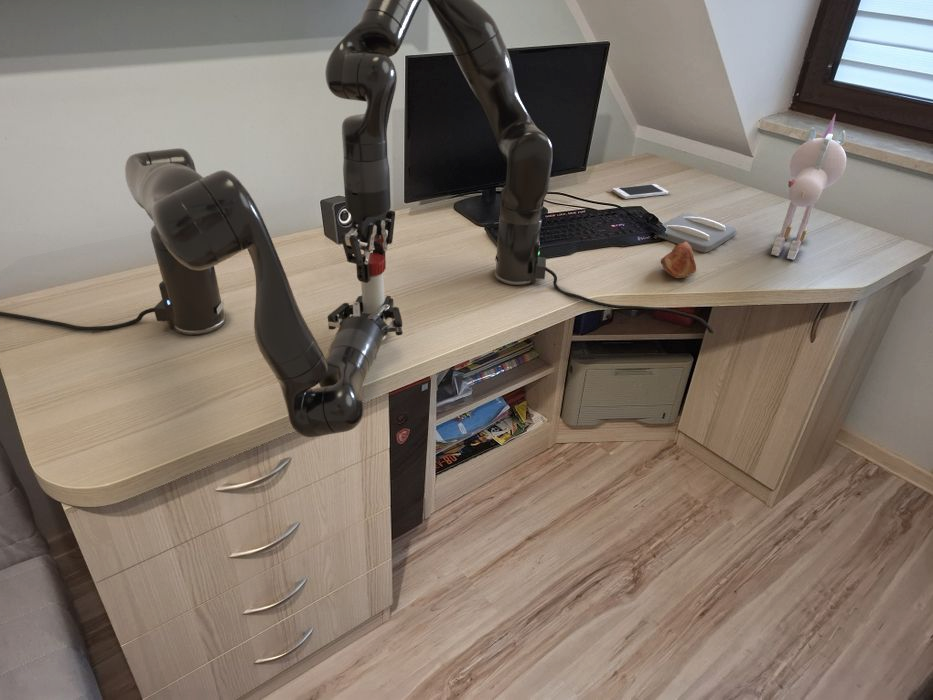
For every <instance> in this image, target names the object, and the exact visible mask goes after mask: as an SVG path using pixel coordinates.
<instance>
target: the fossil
mask: <svg viewBox="0 0 933 700" xmlns="http://www.w3.org/2000/svg"><path fill="white" fill-rule="evenodd" d="M660 264H661V265H662V267H663V269H664V270H665V272H667V274H669V275H671V277H673V278H675V279H684V278H687V277H689V276H690V275H693V274H695V272H697V264H696V260H695V257H694V252H693V249H692V248H691V246H690V245H689V243H688V242H687V241H685V242H684V243H681V244H676V245H675V246H674V247H673V248H672V250H671V251H670V252H668V253H667V254H666V255H664V256H663V257H662V258H661V259H660Z"/></svg>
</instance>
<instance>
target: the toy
mask: <svg viewBox="0 0 933 700" xmlns="http://www.w3.org/2000/svg"><path fill="white" fill-rule="evenodd" d="M836 116H837V115H836V112H835V113H834V115H833V116H832V119H831V120H830V122H829V124H828V126H827V128H826V130H825V131H824V133H823V134H822V136H821V137H817V138H816V136H817V128H815V127H810V129H809V130H808V133H807V135H806V136H805V142H804V143H802V144H801V145H800V146H798V148H797V149H796V150H795V151H794V152H793V154H792V156H791V159H790V162H789V173H790V175H791V178H792V180H789V181H788V188H789V189H788V198H789V201H790V202H789V205H788V209H787V212H786V215H785V218H784V221H783V223H782V227H781V230H780V233H779V235H777V236H776V239H775V241H774V243H773V246H772V249H771V253H770V255H772V256H776V257H779V255H780V253H781V252H782V249H783V248H784V246H785V242H786V240H789V238H790V234H791V232H792V227H793V225H792V223H793V219H794V217H795V213H796V211H797V208H798V207H801V208H802V207H804V208H805V210H804V213H803V216H802V219H801V222H800V225H799V227H798V230H797V233H796V237H795V239H793V240H792V242H791V245H790V247H789V250H788V253H787V256H786V259H788V260H792V261H794V260H795V259H796V257H797V255H798V253H799V251H800V249H801V245H802V244H803V243H804V240H805V238H806V235H807V231H808V228H807V227H808V224H809V221H810V218H811V215H812V212H813V209H814V207H815V204H816V202H817V201H818V200H819V199H820V197H821V195H822V193H823V191H824V189H827V188H828V187H831V186H832V185H834V184H835V183H836V182H837V181H838V180H840V178H841V177H842V176H843V174H844V173H845V170H846V168H847V167H846V166H847V154H846V152H845V150H844V148H843V145H844V143H845V141H846V140H847V134H846V131H845V130H840V131H839V132H838V133H837V135H836V137H835V139H833V129H834V125H835V120H836ZM841 135H842V138H841V141H840V137H841Z"/></svg>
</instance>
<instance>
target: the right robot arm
mask: <svg viewBox="0 0 933 700" xmlns="http://www.w3.org/2000/svg"><path fill="white" fill-rule="evenodd" d="M422 1H423V0H368V1H367V4H366V7H365V9H364V11H363V13H362V15H361V17H360V19H359V22H358V23H357V24H355V25H354V26H353V27H352V28H351V29H350V30H349V31H348V33H347V34H346V35H345V36H344V37H343V38H342V39H341V40H340V41H339V42H338V43H337V45H336V46H335V47H334V48H333V50H332V51H331V53H330V54H329V57H328V59H327V62H326V66H325V83H326V85H327V88H328V89H329V91H330V92H331V94H332V95H334V96H335V97H337V98H340V99H343V100H350V101H358V102H366V108H365V112H364V113H359V114H353V115H349V116H347V117H346V118H344V119H343V121H342V124H341V138H342V154H343V162H342V163H343V164H342V165H343V166H342V174H343V176H342V177H343V189H344V200H345V201H344V203H345V210H346V212H347V213H348V214H349V215H350V216H351V224H350V230H349V231H348V232H347V233H346V232H342V233H341V235H340V240H341V243H342V247H343V251H344V254H345V257H346V261H347V263H350V264H354V265H355V266H356V278H357V280H358V281H359V282H360V283H361V282H365V283H368V282H369V281H370V264H369V257H370V253H371V252H372V253H379V254H381V255H383V256H384V260H385V270H386V269H387V267H386V265H387V261H386V259H387V258H386V252H387V250H388V245H392V244H393V240H394V239H393V238H394V230H395V221H396V211H395V210H391V208H392V207H391V206H392V203H391V174H390V173H391V172H390V165H389V157H388V135H387V132H388V131H387V130H388V124H389V120H390V119H389V118H390V113H391V108H392V103H393V100H394V96H395V93H396V89H397V81H398V80H397V79H398V75H397V70H396V67H395V65H394V62H393V60H392V59H391V57H393V56H395V55H396V54H397V53H398V52H399V50H400V49H401V46H402V44H403V42H404V40H405V37H406V35H407V32H408V30H409V28H410V26H411V24H412V21H413V18H414V16H415V15H416V12H417V10H418V8H419V6H420V4H421V2H422ZM426 1H427V3H428V5H429V7H430V9H431V11H432V13H433V15H434V17H435V19H436V21H437V22H438V24H439V27H440V28H441V31H442V32H443V34H444V37H445V38H446V41H447V43H448V45H449V47H450V49H451V52H452V54H453V56H454V59H455V61H456V62H457V64H458V66H459V69H460V71H461V72H462V74H463V76H464V78H465V80H466V82H467V83H468V85H469V87H470V89H471V90H472V92H473V94H474V95H475V97H476V100H478V102H479V103H480V105H481V106H482V108H483V110H484V112H485V115H486V116H487V118H488V120H489V123H490V126H491V129H492V131H493V134H494V138H495V140H496V143H497V147H498V148H499V152H500V155H501V156H502V158H503V160H504V162H506V164H507V165H506V174H505V175H506V176H505V177H506V178H505V184H504V185H505V186H504V187H503V188H501V191H500V198H499V211H498V228H497V244H496V255H495V258H494V262H495V270H494V277H495V278H496V280H498V281H499V282H502V283H503V284H508V285H510V286H525V285H530V284H537V280H545V279H546V278H545V277H546V272H547V273H549V275H551V276H552V277H553V282H552V284H553V287H554V288H555V290H556V291H557V292H559V293H560V294H563V295H565V296H567V297H570V298H574V299H575V298H576V299H578V300H581V301H584V302H587V303H590V304H593V305H596V306H600V307H604V308H611V309H618V310H641V311H651V312H662V313H670V314H673V315H678V316H681V317H685V318H689V319H692V320H694V321H697V322H699V323H700V324H702V326H703V327H705V328H706V330H707V331H708V332H709V333H710V334H714V331H713V329H712V327H711V325H709V323H707V322H706V321H705V319H703V318H702V317H699V316H696V315H694V314H691V313H686V312H682V311H680V310H675V309H671V308H665V307H656V306H655V307H654V306H643V305H624V304H623V305H621V304H611V303H606V302H601V301H598V300H594V299H591V298H587V297H585V296H582V295H580V294H576V293H571V292H568V291H565V290H563V289H561V288H560V287H559V285H558V284H557V283H558V276H557V274H556V273H555V271H553V270H551V269H550V268H548V267H547V257H544V256H540V246H541V244H540V243H541V231H542V222H543V221H542V220H543V213H544V212H543V211H544V201H545V198H546V197H547V194H548V192H549V188H550V187H549V186H550V180H551V172H552V165H553V155H554V153H553V144H552V142H551V139H550V138H549V137H548V136H547V135H546V134H545V133H544V132H543V131H542V130H541V129H540V128H539V127H537V125H536V124H535V122H534V121H533V120H532V117H531V116H530V114H529V113H528V111H527V109H526V107H525V105H524V103H523V101H522V99H521V97H520V94H519V92H518V88H517V84H516V79H515V73H514V69H513V64H512V61H511V60H512V59H511V57H510V53H509V51H508V49H507V46H506V44H505V41H504V39H503V36H502V34H501V32H500V30H499V27H498V25H497V23H496V21H495V19H494V18H493V17H492V15H491V14H489V12H488V11H487V10H485V8H484V7H482V6H481V5H480V4H479V3H478V2H476V1H475V0H426ZM363 243H365V244H363ZM362 251H363V253H362ZM362 254H364V256H362Z"/></svg>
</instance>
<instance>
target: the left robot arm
mask: <svg viewBox="0 0 933 700" xmlns="http://www.w3.org/2000/svg"><path fill="white" fill-rule="evenodd" d="M124 166H125V167H124V175H125V181H126V186H127V188H128V190H129V193H130V194H131V196H132V198H133V199H134V201H135V202H136V204H137V205H138V206H139V207H140V208H141V209H143V210H144V211H145V212H146V214H147V215H148V217H149V218H150V219H151V221H152V222H153V226H152V227H151V229H150V239H151V243H152V245H153V249H154V253H155V256H156V261H157V265H158V268H159V272H160V276H161V281H160V282H159V284H158V289H159V292H160V295H161V300H160V301H159V302H158V303H157V304H156V305H155V306H154V307H150V308H146V309H145V310H143V311H140V313H138V316H137V317H136V318H133V319H131V320H129V321H126V322H122V323H119V324H111V325H99V326H98V325H97V326H82V325H77V324H76V325H75V324H71V323H67V322H62V321H56V320H51V319H45V318H40V317H35V316H29V315H23V314H17V313H11V312H5V311H0V317H6V318H12V319H17V320H22V321H29V322H35V323H40V324H46V325H50V326H57V327H61V328H66V329H71V330H75V331H84V332H92V331H93V332H94V331H111V330H117V329H121V328H126V327H129V326H133V325H135V324H137V323H139V322H140V321H142V319H143V318H144V316H146V315H147V314H151V313H154V314H155V319H156V322H167V323H168V325H169V329H170V330H175V331H176V332H178V333H179V334H182V335H187V336H189V335H190V336H197V335H203V334H204V335H205V334H208V333H212V332H214V331H216V330H218V329H220V328H221V327H222V326H223V325H224V324H225V322H226V314H225V311H224V307H225V305H226V304H225V299H222V298H221V293H220V288H219V284H218V278H217V273H216V268H215V266H217V265H219V264H221V263H223V262H225V261H226V260H229V259H231V258H232V257H235V256H236V255H238V254H240V253H242V252H243V251H245V250H247V251H248V253H249V256H250V259H251V261H252V265H253V269H254V275H255V305H254V306H255V307H254V318H253V322H254V323H253V329H254V331H253V332H254V337H255V341H256V345H257V348H258V350H259V352H260V354H261V356H262V357H263V359H264V360H265V362H266V364H267V365H268V367H269V368H270V370H271V371H272V373H273V375H274V376H275V378H276V379H277V381H278V383H279V386H280V390H281V393H282V397H283V400H284V403H285V406H286V411H287V416H288V420H289V423H290V426H291V427H292V428H293V430H294V431H296V433H298V434H299V435H301V436H303V437H306V438H317V437H323V436H329V435H334V434H339V433H345V432H349V431H352V430H353V429H355V428H357V426H358V425H359V424H360V423H361V421H362V420H363V418H364V399H363V398H364V397H363V395H364V392H363V391H364V382H365V380H366V378H367V376H368V373H369V371H370V370H371V368H372V366H373V364H374V361H375V360H376V359H377V354H378V352H379V350H380V347H381V345H382V342H383V341H382V339H383V337H384V336H386V337H387V335H388V334H389V333H395V335H396V336H402V335H403V319H402V315H401V311H400V308H399V307H398V306H394V305H395V304H394V298H392V296H391V295H385V296H386V297H385V298H384V303H383V306H382V307H381V308H378V309H377V310H376V311H375V312H373V313H370V314H367V313H363V303H362V294H361V295H359V296H357V298H356V299H355V301H354V302H353V303H352V304H350V303H349V302H344V303H342V304H341V305H339V306H338V307H337V308H336V309H334V310H333V311H332V312H331V313H329V314H328V315H327V325H328V330H330V331H331V330H332V331H334V330H335V329H338V330H337V332H336V333H335V336H334V337H333V339H332V341H331V343H330V346H329V347H328V351H327V355H326V356H325V354H324V353H323V351H322V349H321V348H320V346H319V344H318V342H317V340H316V339H315V337H314V335H313V333H312V331H311V329H310V328H309V325H307V322H306V320H305V318H304V317H303V314H302V312H301V309H300V307H299V305H298V303H297V300H296V297H295V295H294V292H293V290H292V287H291V285H290V281H289V279H288V276H287V274H286V271H285V269H284V267H283V264H282V261H281V259H280V257H279V254H278V252H277V250H276V247H275V244H274V242H273V240H272V237H271V234H270V232H269V230H268V228H267V225H266V222H265V221H264V218H263V216H262V214H261V212H260V210H259V208H258V206H257V204H256V202H255V201H254V199H253V198H252V196H251V194H250V192H249V190H247V188H246V187H245V185H243V183H242V182H241V181H240V180H239V178H238V177H236V176H235V175H234V174H233V173H232V172H230V171H228V170H224V169H223V170H217V171H215V172H212V173H210V174H208V175H206V176H203V175H201V174H200V173H198V172H197V169H196V166H195V162H194V159H193V158H192V155H191V154H190V152H189V151H187V150H186V149H184V148H182V147H181V148H168V149H159V150H158V149H157V150H151V151H149V150H148V151H141V152H137V153H133V154H130V156H129V157H128V158H127V159H126V161H125V165H124ZM390 319H391V321H390V322H389V324H388V323H387V322H388V321H389V320H390ZM317 385H318V386H319V387H315V386H317Z"/></svg>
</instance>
